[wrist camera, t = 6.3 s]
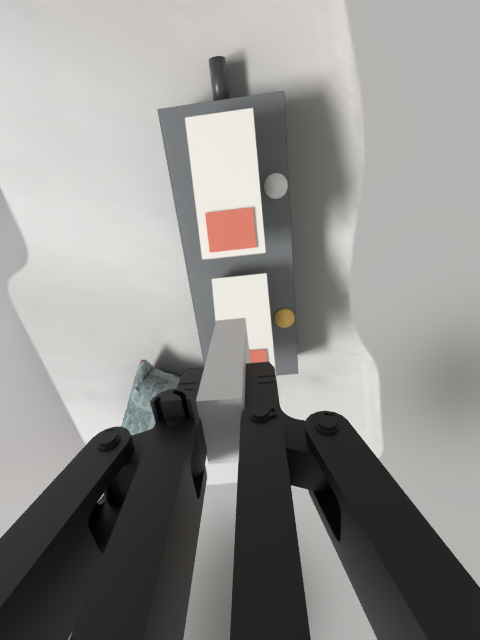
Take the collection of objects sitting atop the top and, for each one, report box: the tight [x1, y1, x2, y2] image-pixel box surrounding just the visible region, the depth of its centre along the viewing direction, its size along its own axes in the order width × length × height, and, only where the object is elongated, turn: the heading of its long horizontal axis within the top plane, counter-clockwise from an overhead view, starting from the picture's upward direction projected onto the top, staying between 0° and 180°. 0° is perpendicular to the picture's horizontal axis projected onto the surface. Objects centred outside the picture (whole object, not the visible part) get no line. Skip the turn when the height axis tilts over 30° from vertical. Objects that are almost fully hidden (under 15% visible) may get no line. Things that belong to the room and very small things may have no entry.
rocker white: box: [185, 108, 266, 260], centre depth 22 cm, size 9×4×2 cm, turn 7°
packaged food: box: [121, 360, 180, 435], centre depth 35 cm, size 9×12×5 cm
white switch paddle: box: [212, 273, 277, 382], centre depth 26 cm, size 9×4×2 cm, turn 7°
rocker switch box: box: [157, 56, 298, 375], centre depth 27 cm, size 26×9×5 cm, turn 7°
